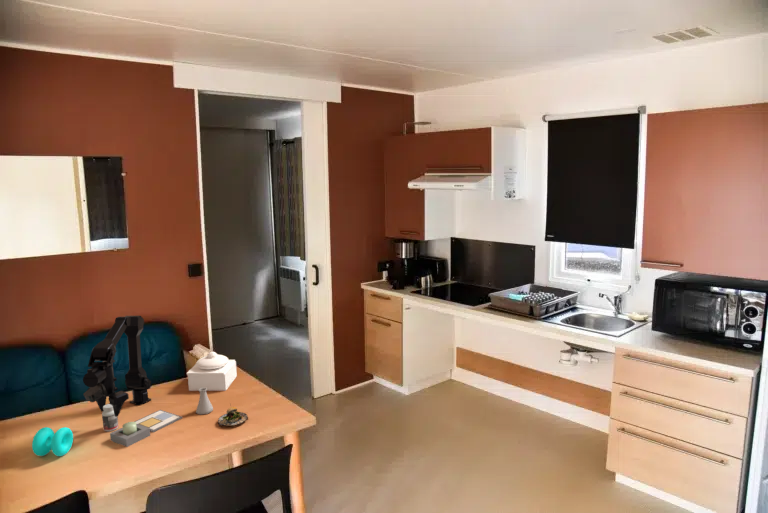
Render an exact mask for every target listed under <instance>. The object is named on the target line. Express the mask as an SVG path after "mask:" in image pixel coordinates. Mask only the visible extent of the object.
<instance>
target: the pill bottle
mask: <svg viewBox="0 0 768 513" xmlns="http://www.w3.org/2000/svg"><path fill="white" fill-rule="evenodd" d="M103 410H104V411H103V412H101V417H102V418H101V419H102V420H101V421H102V428H103V431H104V432H114V431H116V430H118V429H119V419H118V417H119V416H117V417H115V414H114V410H113V406H112V405H111V404H109V403H107V404H105V405H104V406H103Z"/></svg>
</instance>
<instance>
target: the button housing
mask: <svg viewBox="0 0 768 513" xmlns="http://www.w3.org/2000/svg"><path fill="white" fill-rule="evenodd" d="M136 426H137V432H135V433H133V434H131V435H129V436H127V435H124V434H123V427H120V428H117V429H115V430H113V431H111V432H110V433H109V438H110V442H113V443H116V444H118V445H120V446H124V447H126V448H128V447H130V446H132V445H134V444H136V443H138V442H140V441H142V440H144V439H147V438H148V437H150V436H151V432H150V428H148V427H145V426H142V425H139V424H136Z"/></svg>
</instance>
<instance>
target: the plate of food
mask: <svg viewBox="0 0 768 513" xmlns="http://www.w3.org/2000/svg"><path fill="white" fill-rule="evenodd" d="M229 404H230V407H229V408H228V409H226V413H223V414H222V415H221V416H219V418H218V419H217V425H218V427H220V428H221V427H222V426H227V427H233V426H238V425H240V424H242V423H243V422H245V421H246V420H248V421H249V416H248V414H247V413H245V412H243V411H238V408H237V407H236V406H232V405H231V403H229Z"/></svg>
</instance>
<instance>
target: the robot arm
mask: <svg viewBox="0 0 768 513" xmlns="http://www.w3.org/2000/svg"><path fill="white" fill-rule="evenodd" d="M144 325H145V319H144V318H143V317H142V315H125V316H117V317H116V318H115V319H114V323H113V325H112V326H111V327H110V329H109V331H108V333H107V334H106V336H105V337H104V339H103V340H101V341H100V342H98V343H97V344H96V345H95V346H94V347H93V348H92V350H91V353H90V355H89V356H90V357H89V360H88V364H87V367H88V369H87V371H86V372H87V373H85V374H84V375H83V378H82V383H83V384H84V385H85V386H86V387H88V388H87V390H86V391H85V392H84V393H83V397H84V398H85V400H86V401H87V402H90V403H95V402H96V404H97V406H98V408H99V410H100V412H101V413H102V412H103V411H104V410H103V406H104V405H107V404H106V403H107V397H108V402H109V403H108V404H111V405H112V406H113V410H114V414H115V417H119V415H120V413H121V411H122V408H123V405H124V404H125V402H127V401H128V400H129V398H130V397H129V393H128V392H126V391H123V390H120V391H118V388H119V387H116V384H115V382H116V381H117V380H118V379H117V377H115V374H114V364H113V363H115V361H116V360H115V359H114V358H115V355H116V354H117V353H116V352H117V349H116V346H117V344H118V342H119V341H120V339H121V337H122V335H123V334H125V335H126V337H127V349H128V365H129V366H128V367H129V369H128V371H127V372H126V373H125V375H124V379H125V381H124V384H125V386H126V388H127V391H131V393H132V400H130V401H129V403H130V404H133V405H137V406H141V405H144V404H145V403H147V402H150V401H152V398H149V393H148V390H150V389H151V387H152V380H150V379H149V378H148V377H147V372H146V370H145V369H144V368H143V367H142V366H143V364H142V349H141V347H142V346H141V333H142V332H143V330H144Z"/></svg>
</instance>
